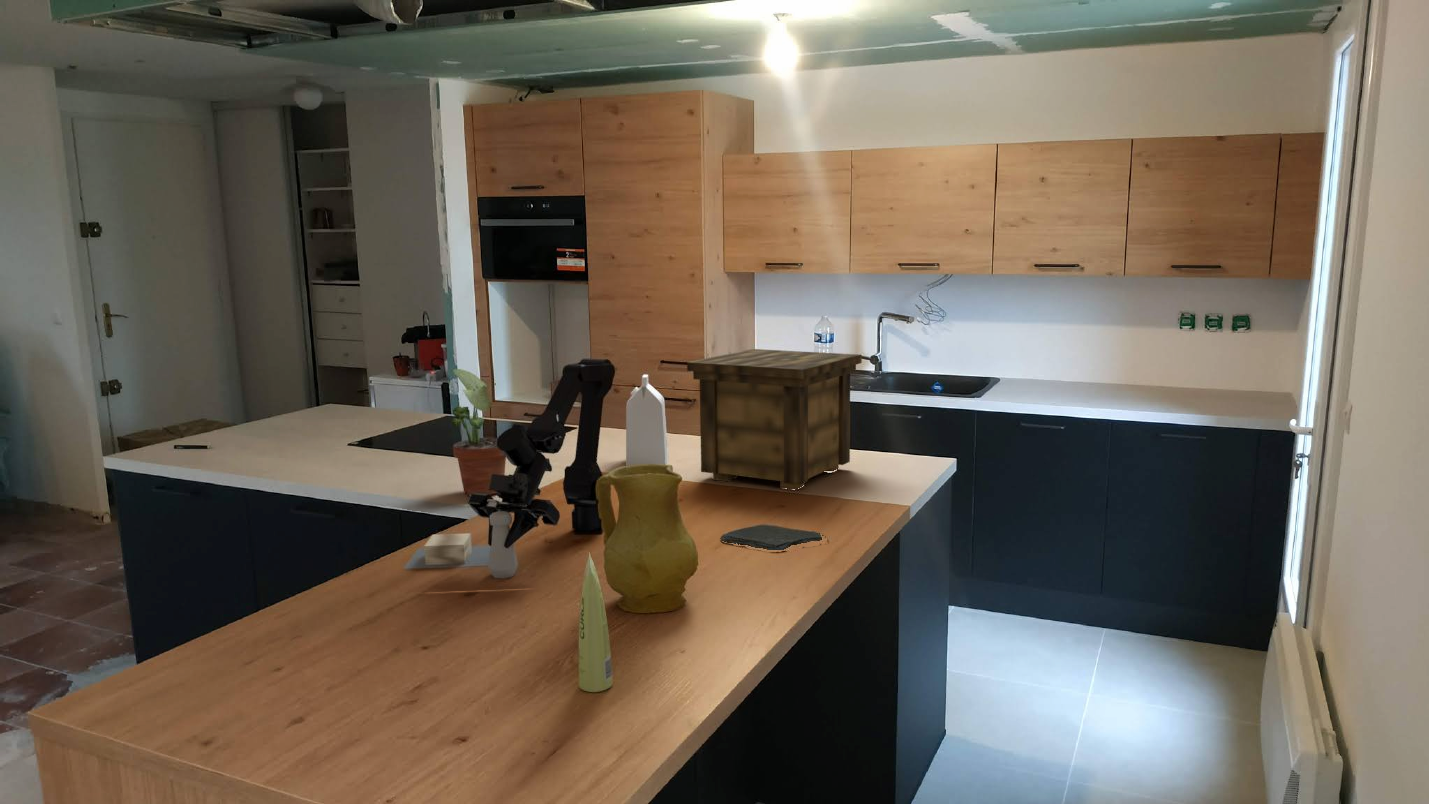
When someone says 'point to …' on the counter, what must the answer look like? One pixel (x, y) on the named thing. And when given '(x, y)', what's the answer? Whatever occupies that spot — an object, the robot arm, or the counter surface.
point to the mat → (476, 558)
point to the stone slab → (770, 537)
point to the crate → (774, 414)
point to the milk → (646, 427)
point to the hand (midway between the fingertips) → (497, 546)
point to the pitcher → (645, 538)
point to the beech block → (448, 549)
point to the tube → (593, 636)
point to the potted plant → (476, 440)
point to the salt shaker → (501, 547)
